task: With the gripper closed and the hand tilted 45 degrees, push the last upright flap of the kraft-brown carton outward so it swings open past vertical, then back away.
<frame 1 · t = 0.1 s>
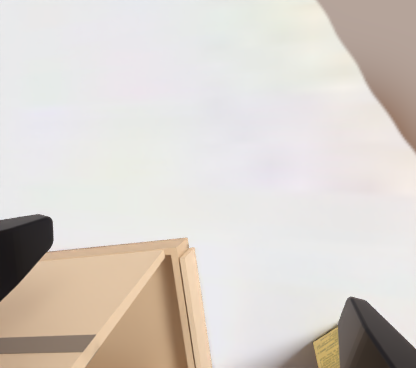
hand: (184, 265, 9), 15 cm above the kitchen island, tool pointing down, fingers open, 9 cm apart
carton: (121, 312, 27), on the kitchen island
flap: (35, 302, 18), point 9 cm above the kitchen island, hinge at -8.0°
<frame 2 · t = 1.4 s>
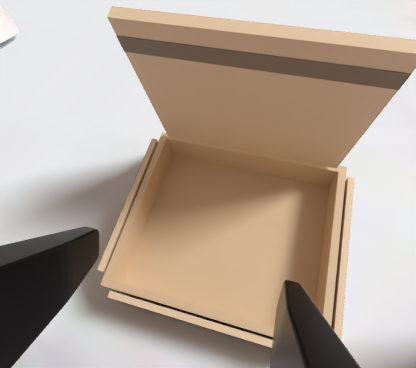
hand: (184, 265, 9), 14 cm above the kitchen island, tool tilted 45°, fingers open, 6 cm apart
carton: (230, 235, 23), on the kitchen island
flap: (250, 106, 17), point 9 cm above the kitchen island, hinge at -8.0°
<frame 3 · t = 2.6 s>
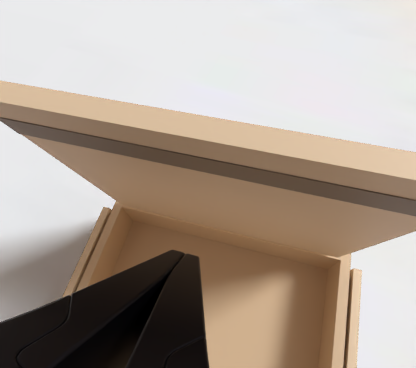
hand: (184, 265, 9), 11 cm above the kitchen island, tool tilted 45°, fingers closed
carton: (202, 334, 18), on the kitchen island
flap: (216, 196, 12), point 9 cm above the kitchen island, hinge at -8.0°
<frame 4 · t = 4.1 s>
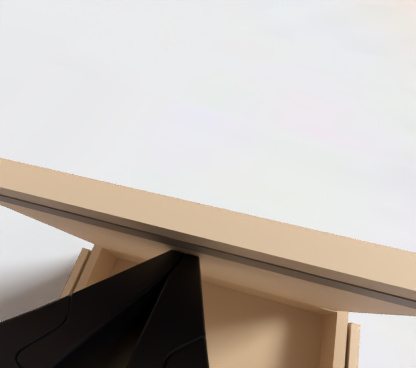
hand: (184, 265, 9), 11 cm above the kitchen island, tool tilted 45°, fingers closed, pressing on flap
flap: (198, 255, 11), point 9 cm above the kitchen island, hinge at -5.0°, touching gripper
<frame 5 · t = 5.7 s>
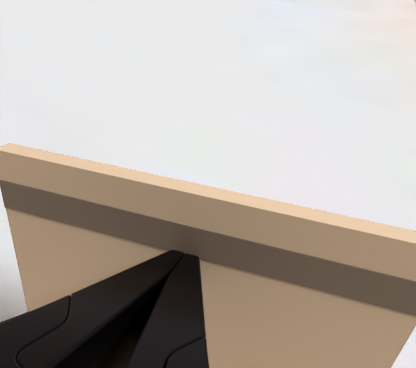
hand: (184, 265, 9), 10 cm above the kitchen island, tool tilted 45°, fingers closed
flap: (181, 329, 10), point 8 cm above the kitchen island, hinge at 39.6°
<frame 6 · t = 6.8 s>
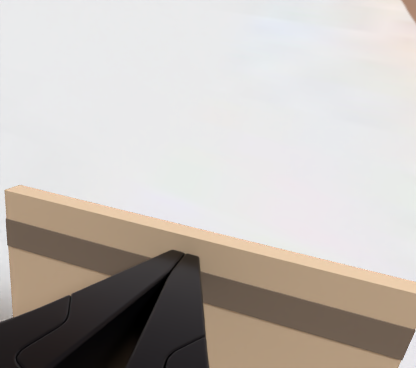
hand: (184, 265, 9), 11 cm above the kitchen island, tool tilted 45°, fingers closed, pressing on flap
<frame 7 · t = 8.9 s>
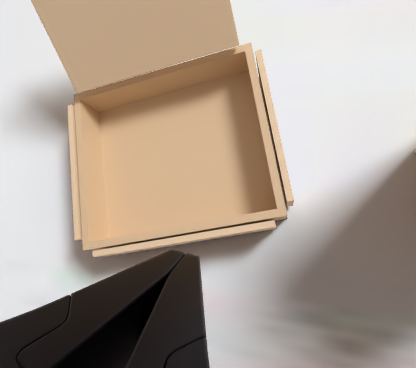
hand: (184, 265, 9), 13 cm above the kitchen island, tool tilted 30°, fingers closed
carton: (180, 158, 24), on the kitchen island
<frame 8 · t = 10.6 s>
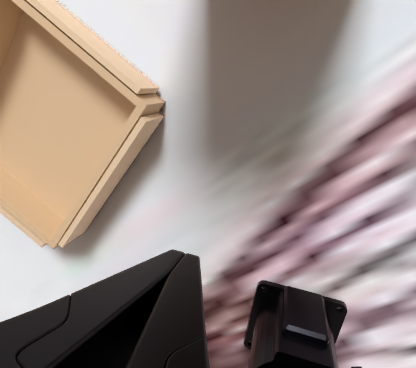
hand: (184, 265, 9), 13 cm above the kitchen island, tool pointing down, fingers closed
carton: (57, 124, 24), on the kitchen island
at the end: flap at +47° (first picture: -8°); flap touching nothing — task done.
